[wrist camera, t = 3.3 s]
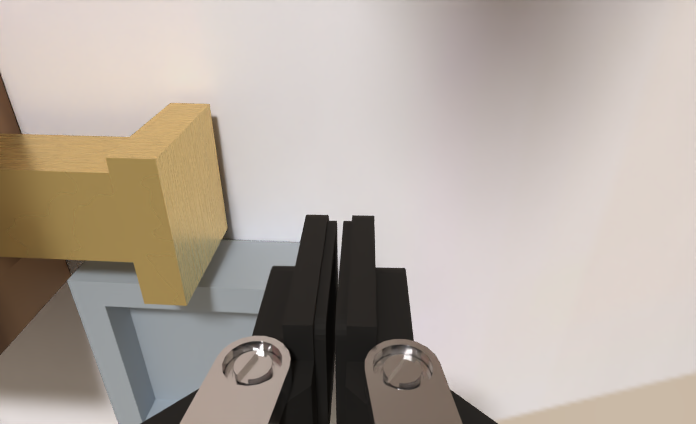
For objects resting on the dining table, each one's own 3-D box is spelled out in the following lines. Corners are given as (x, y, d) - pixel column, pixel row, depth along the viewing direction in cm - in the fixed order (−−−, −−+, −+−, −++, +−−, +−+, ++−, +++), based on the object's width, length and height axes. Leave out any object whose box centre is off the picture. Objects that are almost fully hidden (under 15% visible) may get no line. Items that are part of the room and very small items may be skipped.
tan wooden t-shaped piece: (209, 104, 15) (155, 159, 12) (227, 228, 17) (186, 305, 14) (-20, 98, 15) (-138, 150, 12) (27, 220, 18) (-61, 294, 14)
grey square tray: (325, 243, 18) (315, 292, 16) (329, 395, 22) (322, 452, 20) (107, 234, 18) (67, 280, 16) (151, 385, 22) (124, 439, 20)
